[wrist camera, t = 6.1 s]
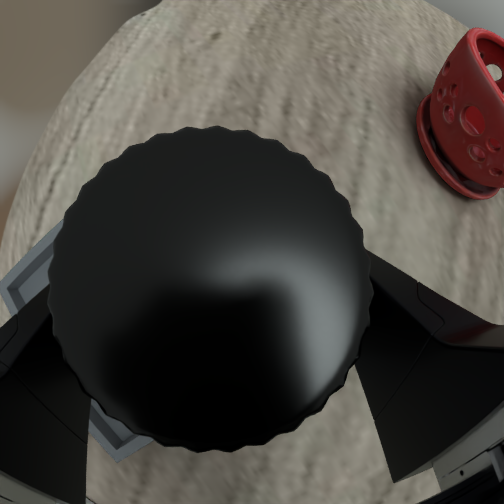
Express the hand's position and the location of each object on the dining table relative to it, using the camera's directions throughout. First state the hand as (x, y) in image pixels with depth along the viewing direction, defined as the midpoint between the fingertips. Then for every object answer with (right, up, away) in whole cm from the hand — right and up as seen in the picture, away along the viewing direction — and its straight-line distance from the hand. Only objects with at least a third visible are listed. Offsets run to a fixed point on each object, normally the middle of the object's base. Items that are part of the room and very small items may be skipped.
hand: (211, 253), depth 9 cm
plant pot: (+21, +11, +16) cm, 29 cm away
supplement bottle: (0, -2, +6) cm, 7 cm away
